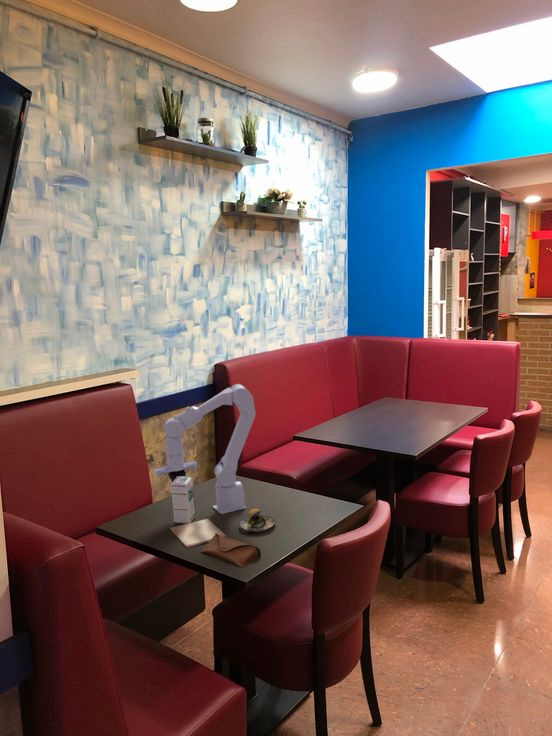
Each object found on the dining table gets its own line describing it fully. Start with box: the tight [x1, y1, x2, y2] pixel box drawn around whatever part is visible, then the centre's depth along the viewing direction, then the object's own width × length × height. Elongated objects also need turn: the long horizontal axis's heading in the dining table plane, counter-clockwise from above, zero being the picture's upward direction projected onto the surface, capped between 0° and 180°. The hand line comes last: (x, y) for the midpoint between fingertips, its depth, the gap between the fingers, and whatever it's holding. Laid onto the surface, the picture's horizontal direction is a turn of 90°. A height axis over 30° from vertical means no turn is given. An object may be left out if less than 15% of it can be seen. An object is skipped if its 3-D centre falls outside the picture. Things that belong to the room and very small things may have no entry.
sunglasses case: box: [199, 533, 262, 568], centre depth 171 cm, size 18×7×7 cm, turn 52°
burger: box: [238, 505, 276, 535], centre depth 189 cm, size 12×12×8 cm
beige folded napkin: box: [170, 518, 227, 549], centre depth 186 cm, size 13×16×1 cm
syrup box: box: [170, 475, 197, 524], centre depth 196 cm, size 6×6×14 cm
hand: (178, 491), depth 201 cm, fingers closed
